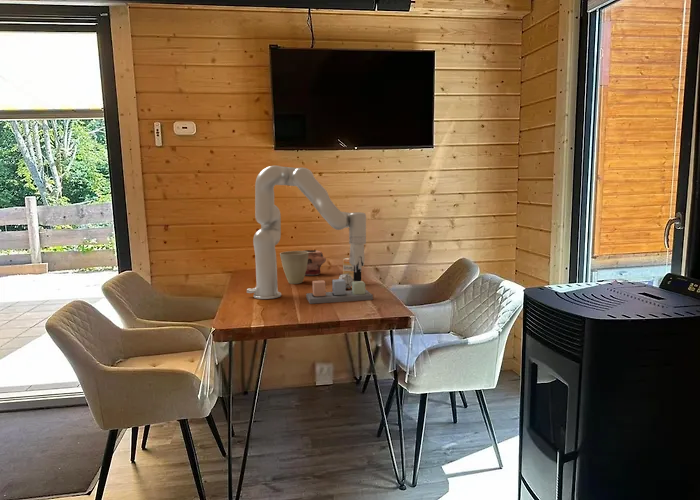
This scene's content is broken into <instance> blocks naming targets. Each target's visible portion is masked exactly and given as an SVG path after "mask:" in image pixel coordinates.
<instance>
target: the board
mask: <svg viewBox="0 0 700 500" xmlns="http://www.w3.org/2000/svg"><path fill="white" fill-rule="evenodd" d="M305 295H306V297H305V298H306V300H307V302H308V303H309V304H310V305H313V304H314V305H315V304H325V303H326V304H327V303H341V302H343V303H344V302H355V301H356V302H357V301H371V300H374V295H373V294H372V293H371V292H370V291H368V290H367V289H365V294H359V295H353V294H352V290H346V294H345V295H334V294H333V291H326V296H314V295H313V292H309V293H306V294H305Z"/></svg>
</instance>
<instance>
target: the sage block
mask: <svg viewBox="0 0 700 500" xmlns="http://www.w3.org/2000/svg"><path fill="white" fill-rule="evenodd" d="M351 288H352V289H351V291H352V294H353V295H359V294H365V290H366V283H365V282H364V281H363V280H361V281H358V282H352V286H351Z"/></svg>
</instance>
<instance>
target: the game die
mask: <svg viewBox="0 0 700 500" xmlns="http://www.w3.org/2000/svg"><path fill="white" fill-rule="evenodd" d="M349 273H350V272H349ZM338 279H344V280H345V283H346V289H350V290H352V282H353V278H352V277H351V276H350V275H349V274H343V273H342V274H341V273H340V272H339V276H338Z"/></svg>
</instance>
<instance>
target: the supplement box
mask: <svg viewBox="0 0 700 500" xmlns="http://www.w3.org/2000/svg"><path fill="white" fill-rule="evenodd" d="M342 259H343V260H342V267H343V268H342V269H343V270H342V272H343V273H342V274H349V275H350V276H351V277H352V278H353V282H358V281H354V267H353V266H352V265H351V264H350V263H349V259H350V257H346V258H342ZM349 272H350V273H349Z"/></svg>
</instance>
